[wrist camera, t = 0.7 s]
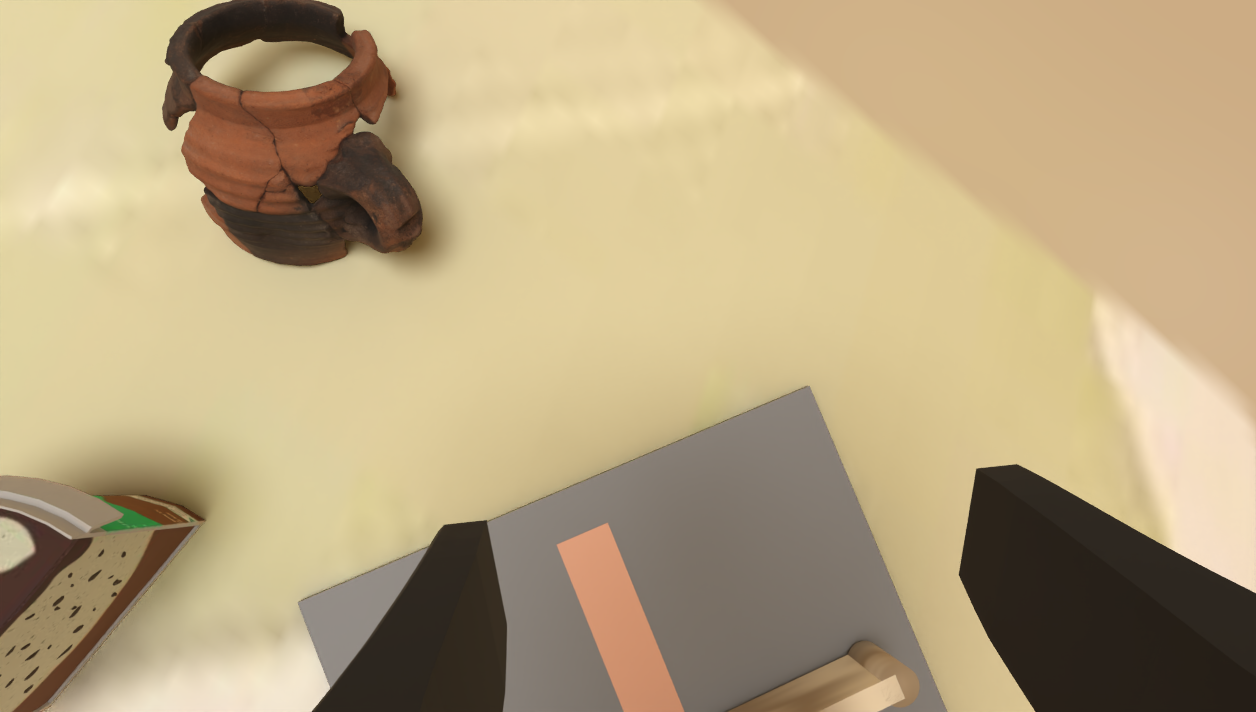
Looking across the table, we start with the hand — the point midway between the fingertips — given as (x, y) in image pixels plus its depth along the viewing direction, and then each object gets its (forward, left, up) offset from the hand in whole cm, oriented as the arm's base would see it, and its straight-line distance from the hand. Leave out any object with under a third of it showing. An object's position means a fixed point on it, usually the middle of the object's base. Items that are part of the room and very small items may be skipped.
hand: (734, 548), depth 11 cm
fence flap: (-12, -3, -22) cm, 26 cm away
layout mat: (-9, +3, -23) cm, 25 cm away
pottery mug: (+17, +7, -23) cm, 29 cm away
